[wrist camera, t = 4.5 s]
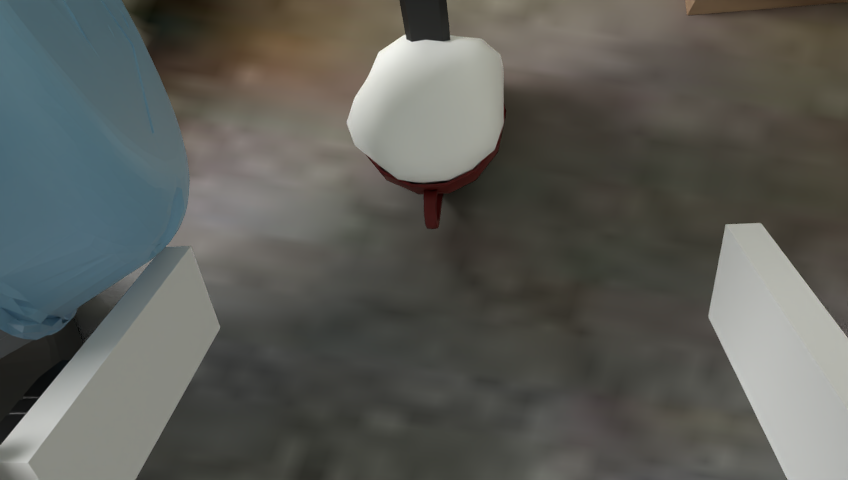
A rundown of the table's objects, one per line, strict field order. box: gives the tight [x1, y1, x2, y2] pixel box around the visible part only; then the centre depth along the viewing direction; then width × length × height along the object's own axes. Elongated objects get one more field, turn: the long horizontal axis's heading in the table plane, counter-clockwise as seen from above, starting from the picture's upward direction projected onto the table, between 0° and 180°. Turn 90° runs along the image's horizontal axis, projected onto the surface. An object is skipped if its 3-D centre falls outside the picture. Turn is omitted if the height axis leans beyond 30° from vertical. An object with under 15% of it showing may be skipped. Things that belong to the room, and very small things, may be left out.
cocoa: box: [347, 0, 506, 229], centre depth 23 cm, size 10×6×12 cm, turn 156°
